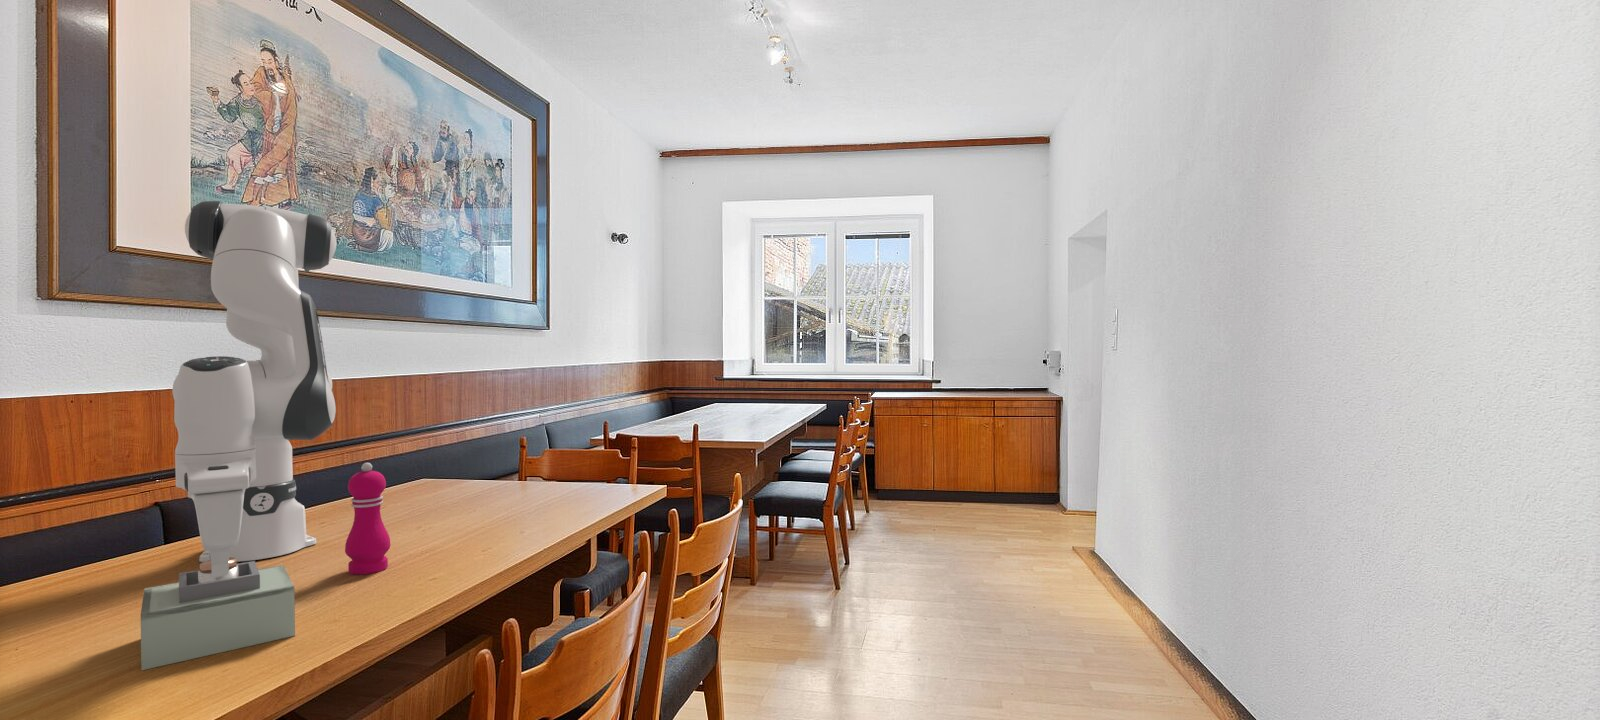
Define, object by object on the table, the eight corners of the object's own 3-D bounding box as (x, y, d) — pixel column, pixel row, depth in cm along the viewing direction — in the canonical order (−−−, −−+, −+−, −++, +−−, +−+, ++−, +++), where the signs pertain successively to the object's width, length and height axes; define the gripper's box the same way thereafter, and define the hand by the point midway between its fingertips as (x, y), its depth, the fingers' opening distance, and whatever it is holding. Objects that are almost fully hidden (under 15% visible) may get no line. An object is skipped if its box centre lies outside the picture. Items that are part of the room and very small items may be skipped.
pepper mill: (369, 576, 126) (367, 466, 126) (335, 574, 127) (333, 465, 127) (399, 564, 133) (398, 460, 133) (367, 562, 134) (365, 459, 134)
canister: (198, 630, 100) (196, 550, 99) (238, 621, 103) (236, 544, 102) (201, 640, 96) (198, 557, 96) (241, 631, 100) (239, 550, 99)
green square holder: (145, 637, 100) (144, 574, 100) (284, 608, 110) (283, 552, 110) (141, 670, 89) (140, 600, 89) (295, 635, 100) (294, 573, 100)
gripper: (186, 464, 105) (188, 555, 105) (188, 483, 90) (190, 590, 90) (240, 459, 109) (241, 547, 110) (250, 477, 94) (252, 579, 94)
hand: (218, 567), depth 100 cm, fingers open, 8 cm apart
